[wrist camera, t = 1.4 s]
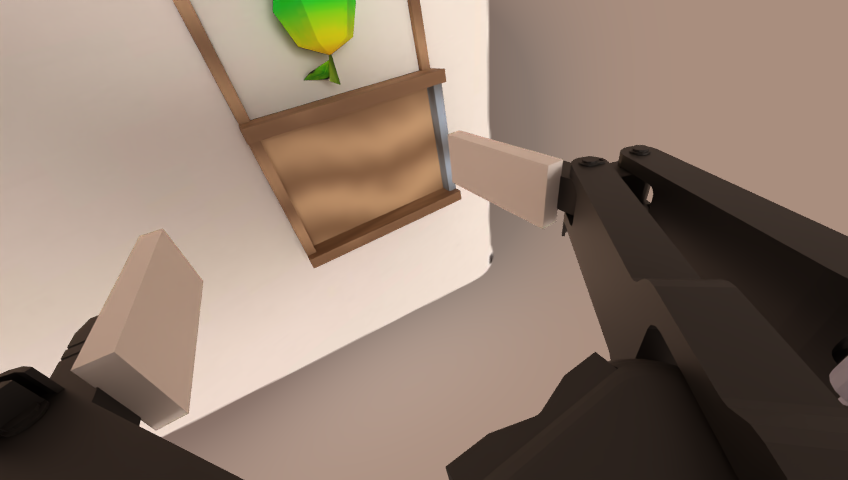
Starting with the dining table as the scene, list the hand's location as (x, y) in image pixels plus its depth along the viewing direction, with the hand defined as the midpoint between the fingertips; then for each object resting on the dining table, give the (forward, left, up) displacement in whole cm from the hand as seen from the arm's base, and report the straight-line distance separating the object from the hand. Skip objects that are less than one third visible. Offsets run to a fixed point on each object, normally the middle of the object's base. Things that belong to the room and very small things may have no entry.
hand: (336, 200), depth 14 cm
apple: (-7, +6, -20) cm, 22 cm away
